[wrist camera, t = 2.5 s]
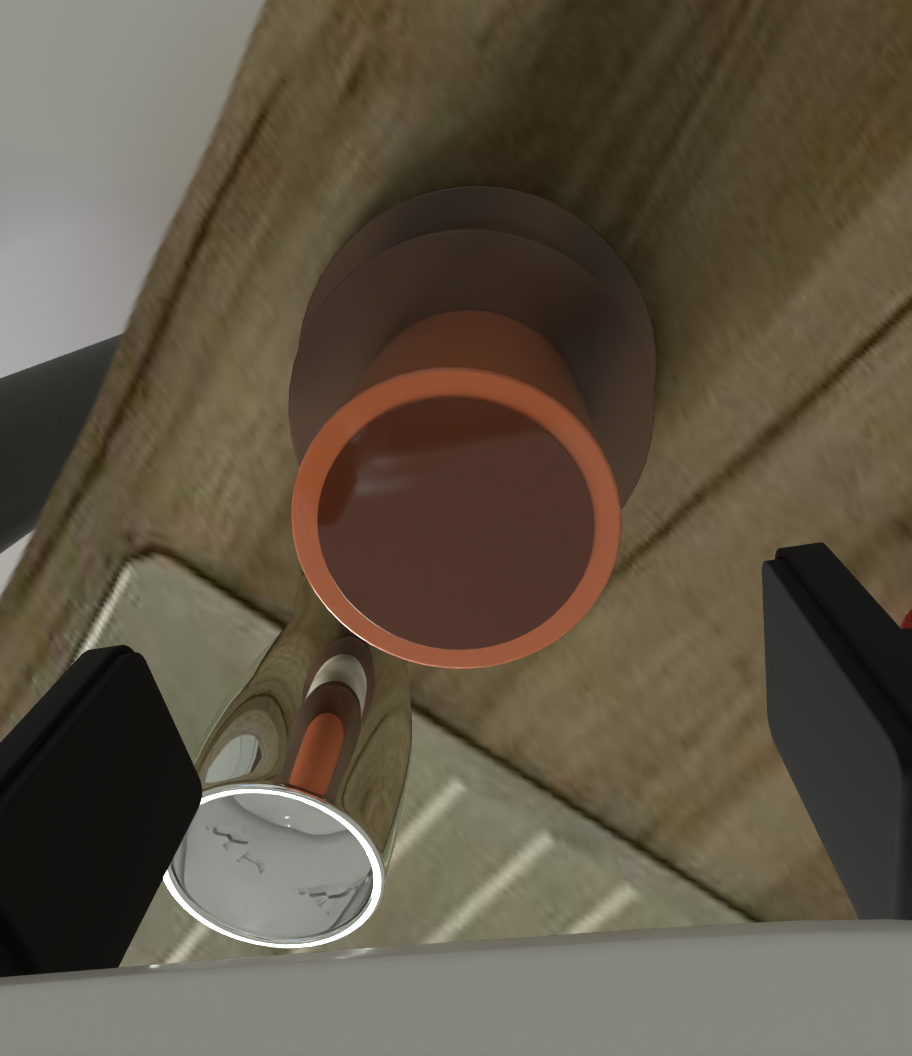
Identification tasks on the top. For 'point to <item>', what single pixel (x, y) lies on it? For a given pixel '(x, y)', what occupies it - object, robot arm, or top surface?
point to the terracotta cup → (459, 497)
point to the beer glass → (299, 788)
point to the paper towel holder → (484, 306)
